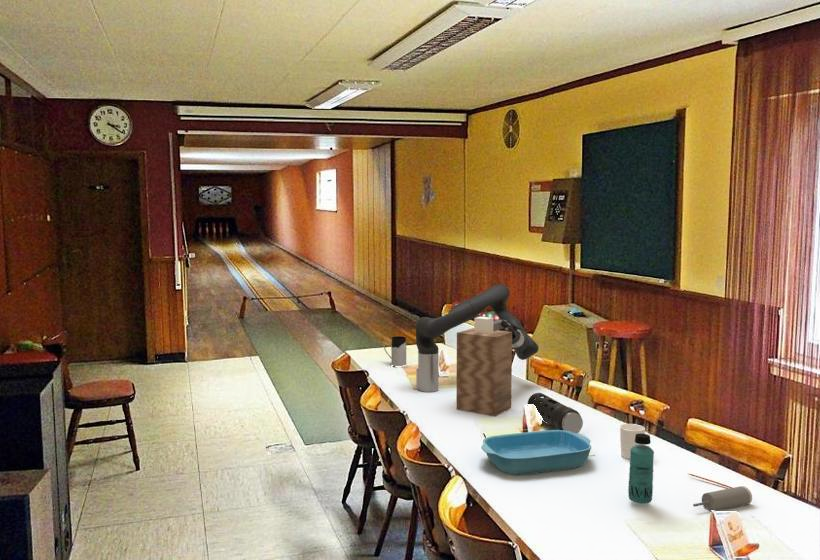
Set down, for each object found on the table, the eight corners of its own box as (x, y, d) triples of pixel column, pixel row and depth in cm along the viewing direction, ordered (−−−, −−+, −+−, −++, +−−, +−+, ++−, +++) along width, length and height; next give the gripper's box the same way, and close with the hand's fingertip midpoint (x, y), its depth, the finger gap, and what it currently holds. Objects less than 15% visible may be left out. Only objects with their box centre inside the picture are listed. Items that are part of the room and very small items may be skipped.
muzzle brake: (548, 416, 281) (548, 391, 280) (584, 438, 255) (585, 410, 254) (526, 418, 279) (526, 392, 278) (560, 440, 252) (561, 412, 251)
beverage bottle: (624, 500, 200) (626, 431, 198) (646, 499, 200) (649, 430, 198) (633, 509, 193) (635, 438, 191) (656, 508, 194) (659, 438, 192)
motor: (763, 504, 197) (761, 485, 197) (701, 516, 189) (700, 498, 189) (701, 487, 219) (699, 471, 219) (643, 498, 210) (641, 481, 211)
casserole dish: (496, 481, 214) (497, 459, 213) (470, 457, 236) (471, 436, 235) (604, 469, 224) (605, 447, 223) (570, 447, 245) (570, 426, 245)
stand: (456, 409, 291) (456, 332, 288) (473, 401, 303) (473, 327, 299) (495, 416, 281) (496, 337, 278) (511, 408, 292) (512, 331, 289)
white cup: (644, 453, 238) (645, 425, 237) (644, 461, 230) (644, 432, 229) (619, 451, 240) (620, 422, 239) (618, 459, 233) (619, 429, 232)
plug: (474, 332, 288) (474, 318, 287) (496, 326, 303) (496, 312, 303) (487, 334, 284) (487, 319, 284) (508, 327, 300) (509, 313, 299)
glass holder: (401, 368, 367) (401, 339, 365) (378, 365, 374) (378, 337, 373) (410, 365, 374) (410, 337, 372) (388, 362, 382) (388, 334, 380)
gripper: (500, 327, 315) (484, 312, 302) (529, 330, 307) (514, 314, 294) (496, 342, 313) (480, 328, 300) (525, 346, 305) (510, 331, 292)
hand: (497, 321), depth 297 cm, fingers closed on plug, 4 cm apart
